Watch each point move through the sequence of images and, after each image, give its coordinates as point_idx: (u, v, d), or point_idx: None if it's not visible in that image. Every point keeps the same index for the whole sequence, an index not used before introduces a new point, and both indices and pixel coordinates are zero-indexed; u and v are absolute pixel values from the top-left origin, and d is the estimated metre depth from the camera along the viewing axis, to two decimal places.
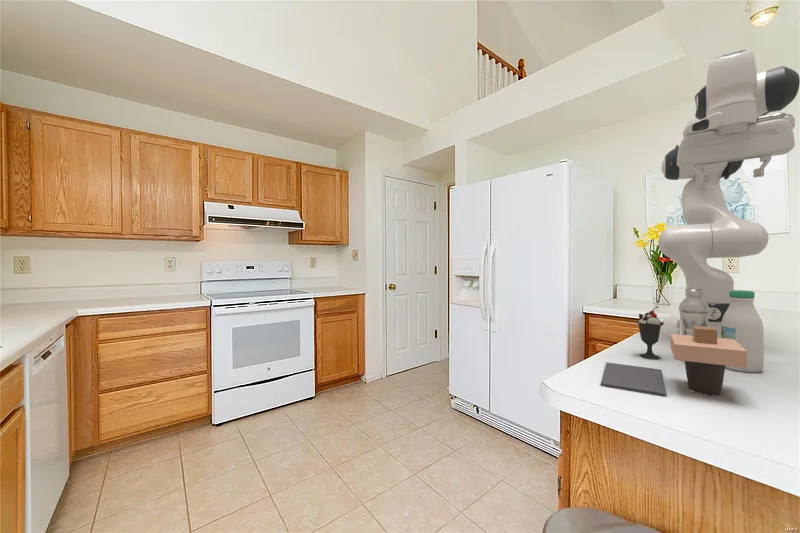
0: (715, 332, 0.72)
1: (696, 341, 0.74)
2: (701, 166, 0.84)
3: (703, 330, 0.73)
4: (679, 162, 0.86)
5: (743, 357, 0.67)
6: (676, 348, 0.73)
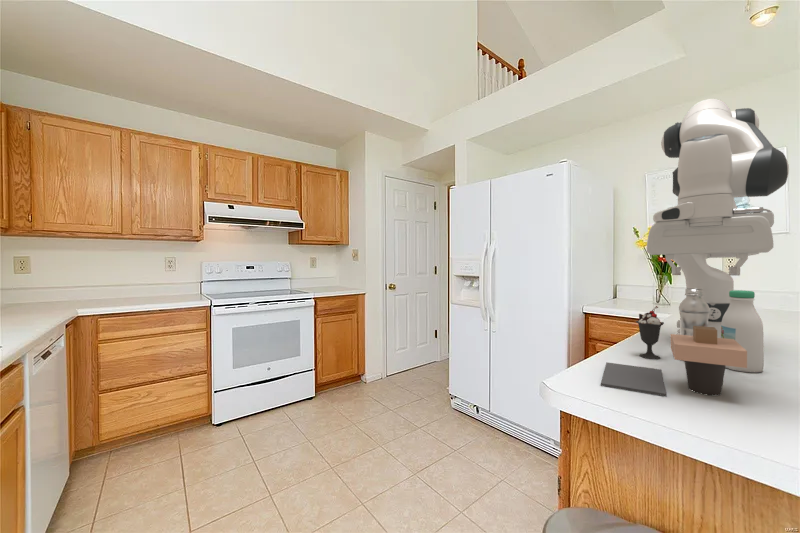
0: (715, 332, 0.72)
1: (696, 341, 0.74)
2: (672, 257, 0.76)
3: (703, 330, 0.73)
4: (648, 250, 0.78)
5: (743, 357, 0.67)
6: (676, 348, 0.73)
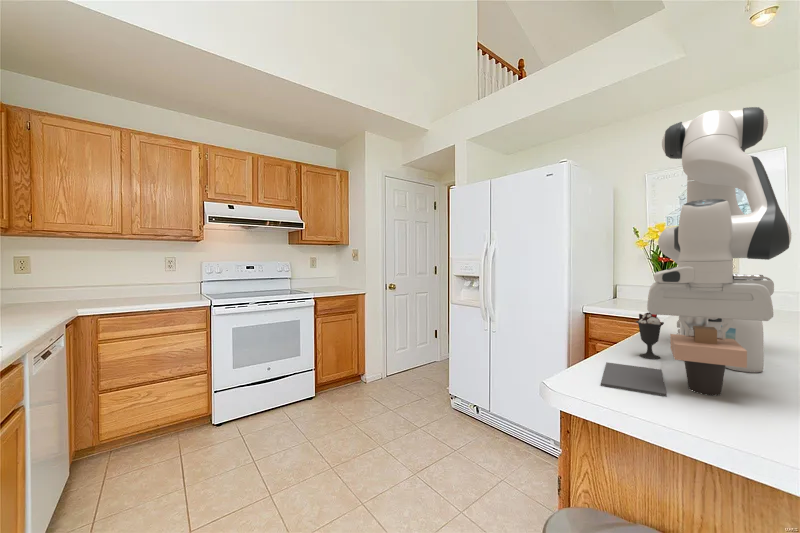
0: (715, 332, 0.72)
1: (696, 341, 0.74)
2: (686, 319, 0.75)
3: (703, 330, 0.73)
4: (649, 310, 0.78)
5: (743, 357, 0.67)
6: (676, 348, 0.73)
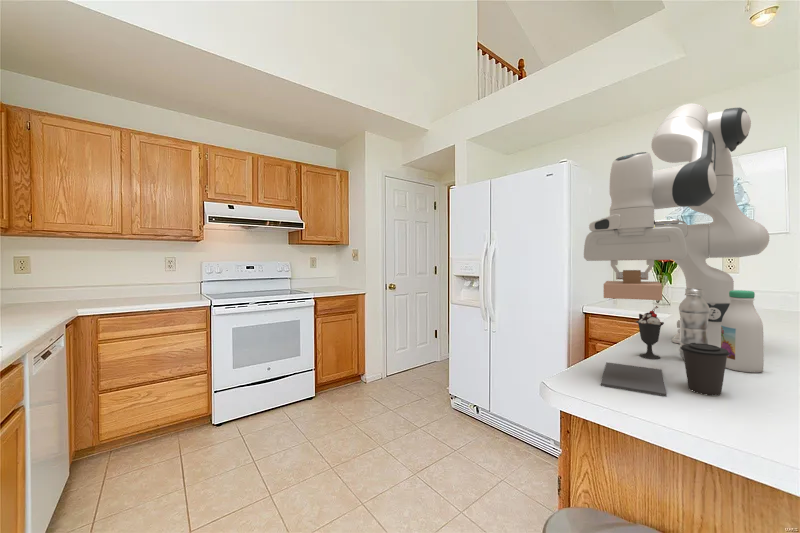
0: (639, 272, 0.80)
1: (623, 282, 0.81)
2: (615, 263, 0.83)
3: (629, 271, 0.81)
4: (584, 257, 0.86)
5: (659, 291, 0.75)
6: (604, 287, 0.80)
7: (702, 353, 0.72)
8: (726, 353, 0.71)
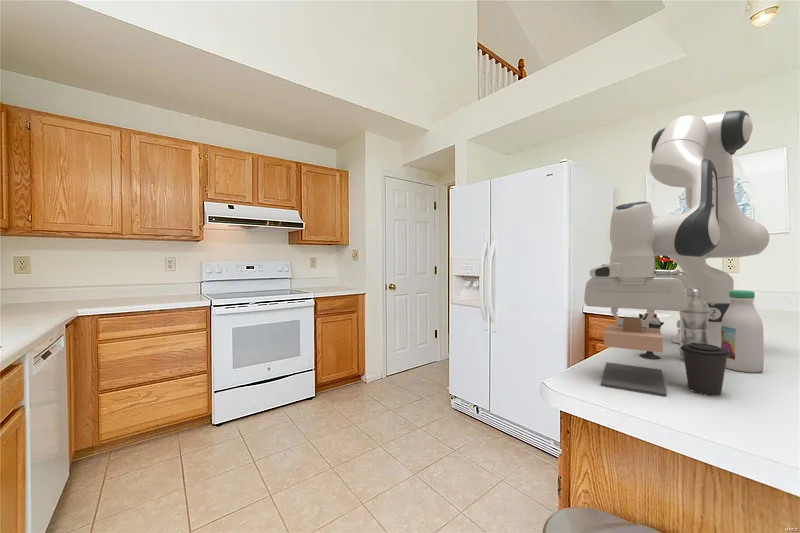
0: (639, 321, 0.80)
1: (624, 330, 0.82)
2: (616, 310, 0.83)
3: (630, 320, 0.81)
4: (585, 302, 0.86)
5: (659, 343, 0.75)
6: (605, 336, 0.81)
7: (702, 353, 0.72)
8: (726, 353, 0.71)
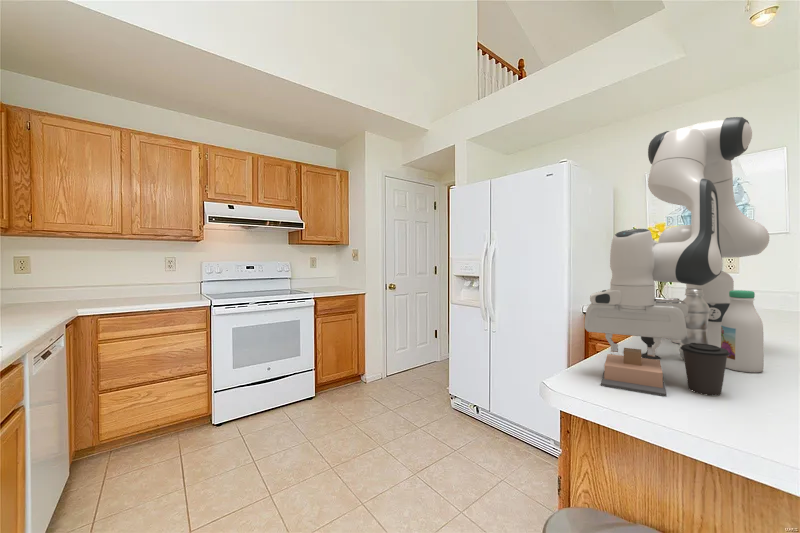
0: (640, 355, 0.80)
1: (624, 362, 0.82)
2: (610, 336, 0.84)
3: (630, 352, 0.81)
4: (585, 328, 0.87)
5: (659, 378, 0.75)
6: (605, 369, 0.81)
7: (702, 353, 0.72)
8: (726, 353, 0.71)
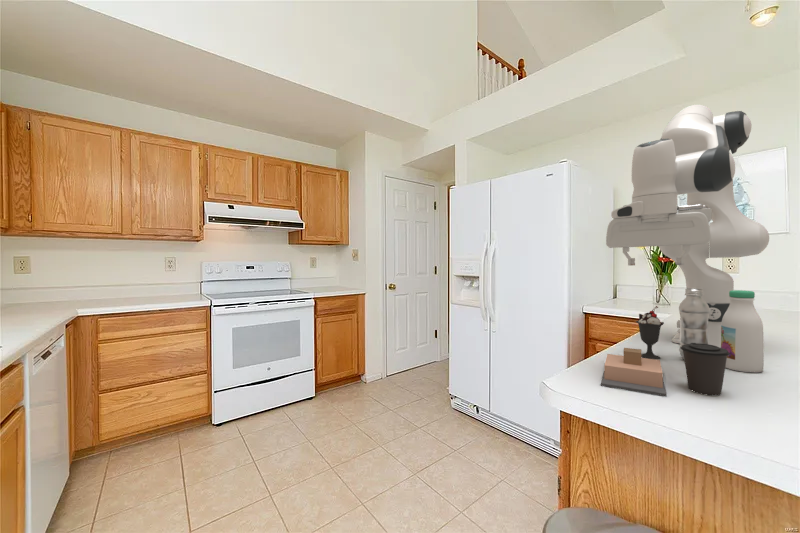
0: (640, 355, 0.80)
1: (624, 362, 0.82)
2: (627, 250, 0.86)
3: (630, 352, 0.81)
4: (607, 244, 0.87)
5: (659, 378, 0.75)
6: (605, 369, 0.81)
7: (702, 353, 0.72)
8: (726, 353, 0.71)
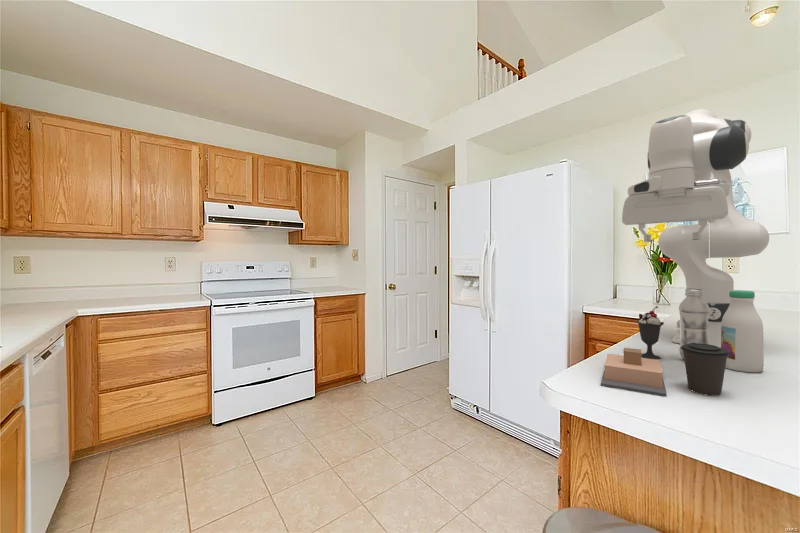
0: (640, 355, 0.80)
1: (624, 362, 0.82)
2: (643, 226, 0.86)
3: (630, 352, 0.81)
4: (623, 221, 0.88)
5: (659, 378, 0.75)
6: (605, 369, 0.81)
7: (702, 353, 0.72)
8: (726, 353, 0.71)
